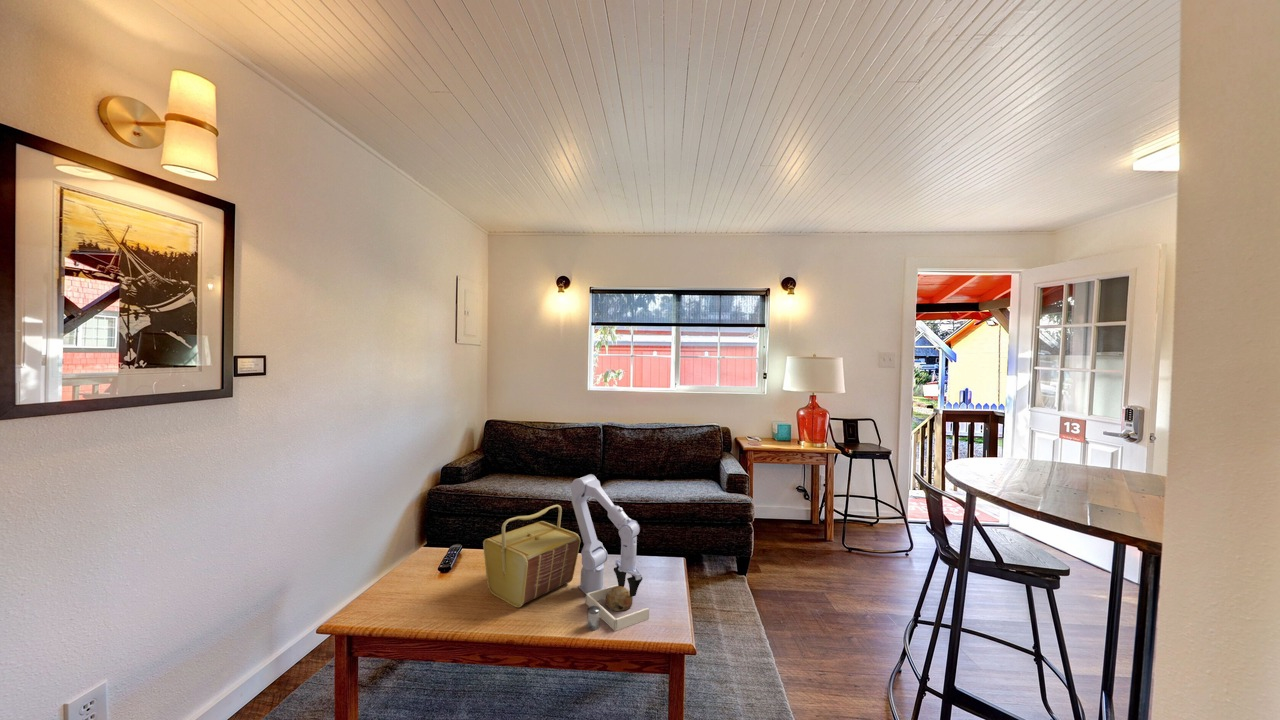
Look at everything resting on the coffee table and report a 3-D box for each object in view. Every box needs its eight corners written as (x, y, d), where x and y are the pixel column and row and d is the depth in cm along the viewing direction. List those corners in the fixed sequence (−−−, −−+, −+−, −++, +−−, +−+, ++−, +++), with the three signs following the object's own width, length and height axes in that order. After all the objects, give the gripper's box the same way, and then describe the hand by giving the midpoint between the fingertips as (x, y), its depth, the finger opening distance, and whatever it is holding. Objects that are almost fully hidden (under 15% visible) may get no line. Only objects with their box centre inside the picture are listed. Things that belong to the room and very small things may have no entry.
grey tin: (584, 625, 153) (585, 608, 153) (595, 622, 155) (596, 604, 155) (590, 632, 149) (591, 614, 149) (601, 628, 152) (602, 610, 152)
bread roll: (605, 619, 163) (607, 604, 160) (603, 594, 172) (605, 579, 169) (632, 618, 165) (634, 603, 162) (629, 592, 174) (631, 578, 171)
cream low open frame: (585, 603, 167) (585, 593, 167) (617, 593, 175) (618, 584, 175) (614, 631, 150) (615, 620, 150) (648, 618, 159) (649, 608, 159)
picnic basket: (521, 616, 157) (524, 530, 157) (478, 591, 172) (481, 512, 173) (581, 585, 180) (584, 510, 180) (538, 565, 196) (541, 496, 196)
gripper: (609, 550, 173) (607, 585, 173) (630, 564, 161) (629, 603, 161) (624, 546, 177) (623, 581, 177) (646, 560, 165) (645, 597, 165)
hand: (627, 591), depth 169 cm, fingers open, 7 cm apart
